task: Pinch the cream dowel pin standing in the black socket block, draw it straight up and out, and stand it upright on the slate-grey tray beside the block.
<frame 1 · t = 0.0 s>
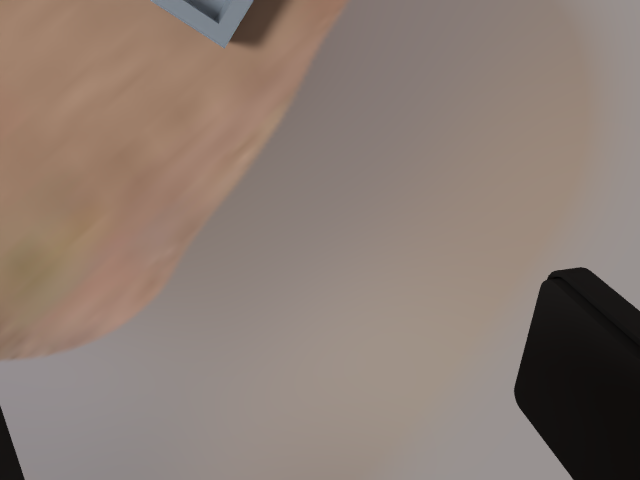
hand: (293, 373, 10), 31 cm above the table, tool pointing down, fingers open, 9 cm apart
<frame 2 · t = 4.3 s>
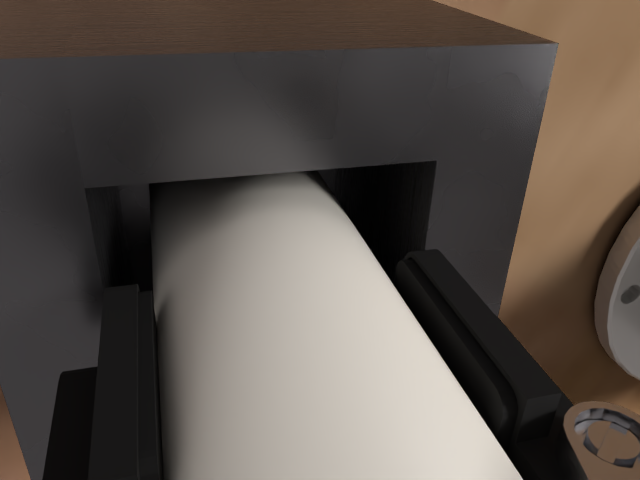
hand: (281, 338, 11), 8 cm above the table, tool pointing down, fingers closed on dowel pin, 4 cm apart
dowel pin: (233, 189, 16), point 1 cm above the table, touching gripper, socket block
socket block: (228, 175, 17), on the table
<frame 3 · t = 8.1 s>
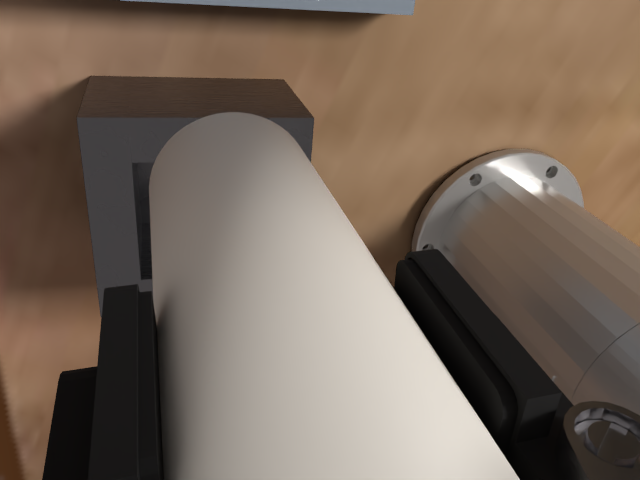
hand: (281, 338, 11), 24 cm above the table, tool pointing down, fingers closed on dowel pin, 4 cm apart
dowel pin: (232, 190, 16), point 17 cm above the table, touching gripper
socket block: (193, 166, 33), on the table
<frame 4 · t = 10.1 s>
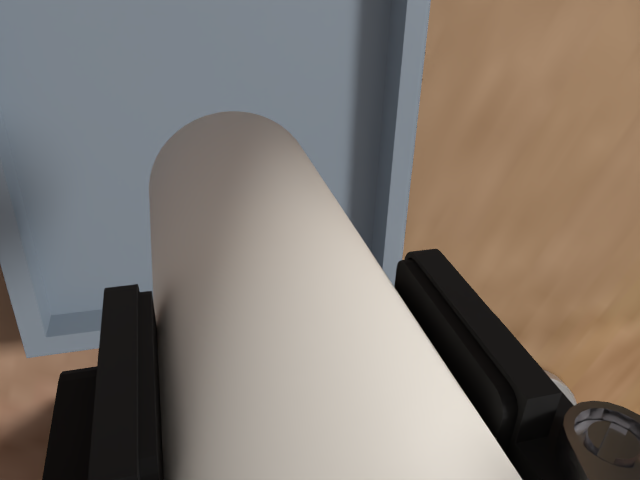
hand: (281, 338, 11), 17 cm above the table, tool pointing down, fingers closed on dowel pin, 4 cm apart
tray: (205, 94, 26), on the table
dowel pin: (232, 190, 16), point 11 cm above the table, touching gripper
when the fingers open (9 cm above the table, at t = 11.9 s): dowel pin drops 1 cm, resting on tray.
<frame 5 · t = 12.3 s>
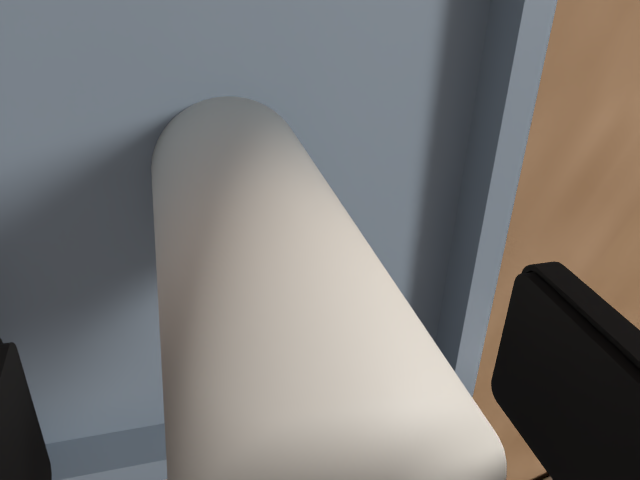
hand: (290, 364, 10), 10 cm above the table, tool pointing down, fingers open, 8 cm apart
tray: (222, 159, 18), on the table
dowel pin: (228, 170, 18), point 1 cm above the table, touching tray
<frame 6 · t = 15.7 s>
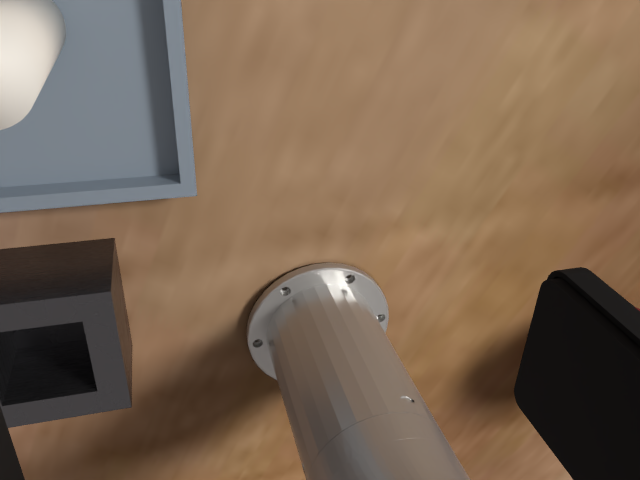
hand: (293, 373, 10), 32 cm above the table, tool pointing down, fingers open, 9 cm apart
tray: (24, 22, 35), on the table
dowel pin: (24, 26, 34), point 1 cm above the table, touching tray
socket block: (54, 302, 44), on the table
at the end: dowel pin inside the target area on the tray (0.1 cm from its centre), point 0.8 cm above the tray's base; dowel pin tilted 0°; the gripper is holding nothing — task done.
